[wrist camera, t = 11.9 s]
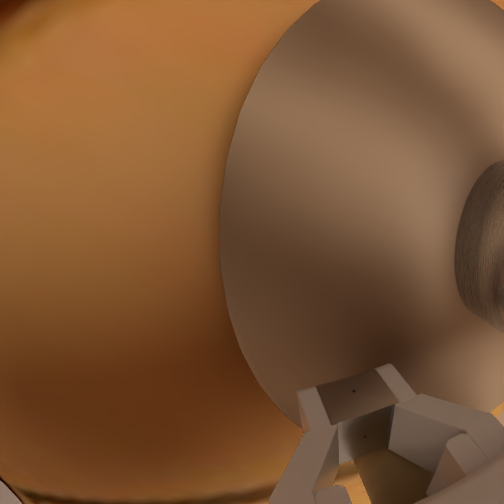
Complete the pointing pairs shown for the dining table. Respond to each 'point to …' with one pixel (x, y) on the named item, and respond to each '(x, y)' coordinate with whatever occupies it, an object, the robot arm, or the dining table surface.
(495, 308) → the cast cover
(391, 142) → the turntable
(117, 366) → the dining table surface
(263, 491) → the dining table surface
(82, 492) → the dining table surface
